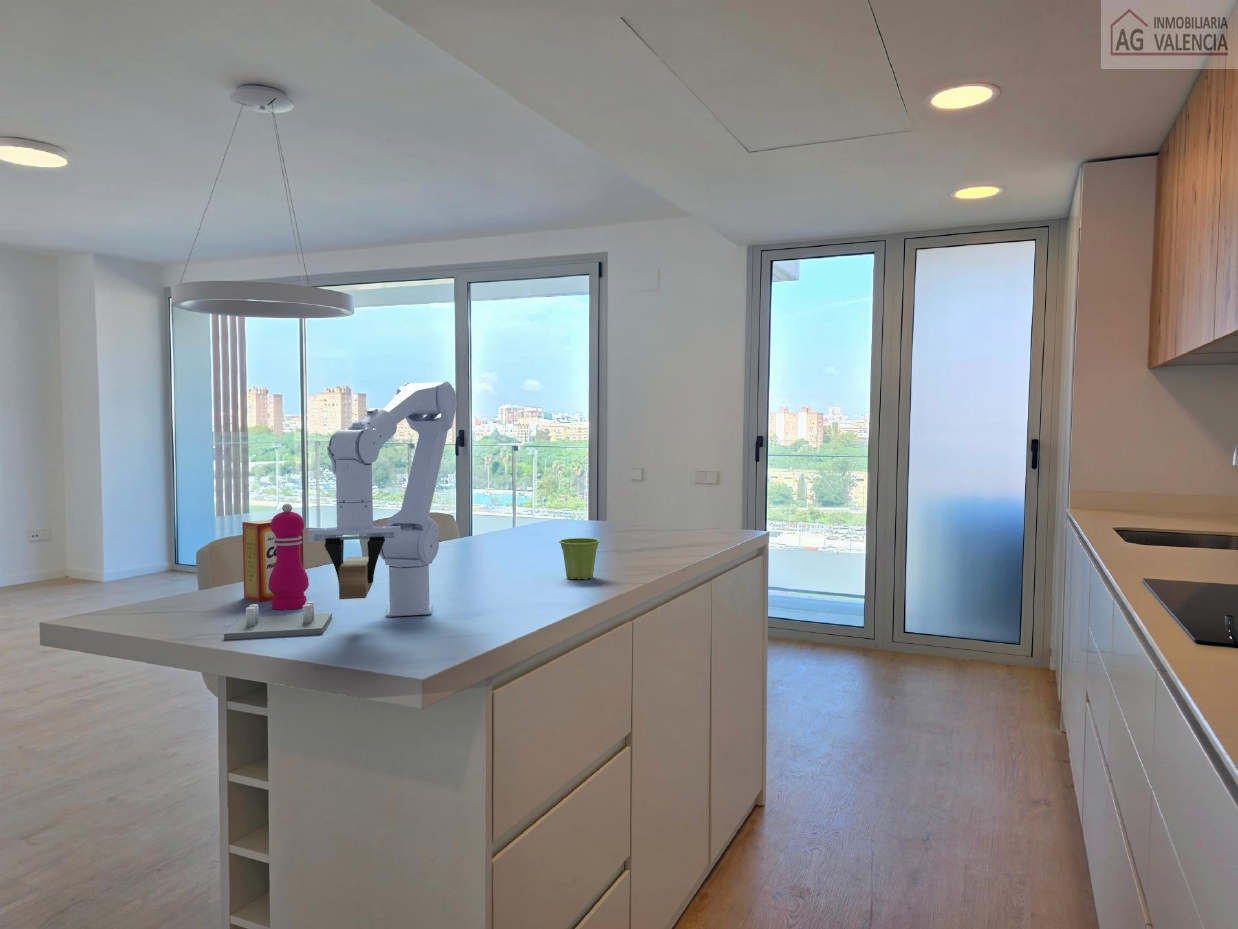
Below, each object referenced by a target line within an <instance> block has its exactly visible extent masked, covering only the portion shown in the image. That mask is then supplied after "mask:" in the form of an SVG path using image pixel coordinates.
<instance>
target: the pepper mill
mask: <svg viewBox="0 0 1238 929" xmlns="http://www.w3.org/2000/svg"><path fill="white" fill-rule="evenodd" d="M281 508H282V511H281V512H278V513H277V514H275V515H274V516H272V518H271V519H272V521H271V530H272V532H273V533H274V534H275V536H276V537H275V538H274V540H275V541H274V542H275V543H274V545H276V549H277V558H276V563H275V566H274V568H273V570H272V573H271V575H270V578H269V585H268V587H269V590H270V591H271V592H272V593H273V594H274V596H275V597H274V598H272V600H271V609H273V610H278V611H279V610H280V611H287V610H297V609H300V608H302V609H303V605H305V603H306V602H308V601H307V596H306V595H305V592H306V591H307V590H308V589H309V588H308V587H309V585H310V583H309V582H310V581H309V577H308V573H307V571H306V569H305V568H304V564H303V565H302V563H301V559H300V553H299V547H300V544H301V543H302V541H301V538H302V537H301V536H300V533H301V532H302V531H303V532H304V529H305V521H304V518H303V517H302V515H301V514H299V513H298V512H295V511H292V510H293V506H292V505H291V504H290V503H285V504H283V505H282V507H281ZM303 593H304V595H303Z"/></svg>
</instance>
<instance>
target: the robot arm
mask: <svg viewBox="0 0 1238 929" xmlns="http://www.w3.org/2000/svg"><path fill="white" fill-rule="evenodd" d="M456 395H457V394H456V391H455V389H454V387H453V386H452V384H451V383H450V381H442V382H421V383H418V382H417V383H412V382H405V383H403V384H402V385H401V386H399V387H398V388H397V389H396V396H395V397H393V398H392V400H390V401H389V403H388V404H387V405H385V407H383V408H377V407H373V408H372V407H370V408H368V409H367V410H366V414H364V416H363V417H361V418H360V419H358V420H355V421H353V422H352V423H351V424H352V425H351V426H349V427H348V428H347V429H339V430H337V431H336V432H335V433H333V434H332V435H331V437H330V438H329V442H328V445H327V446H326V451H327V455H328V457H329V460H330V461H331V464H332V465H331V467H332V468H331V469H332V472H333V474H334V475H335V494H336V495H335V496H336V526H335V527H324V528H323V527H322V528H318V527H317V528H310V529H308V530H307V539H308V540H307V541H308V543H309V542H310V543H311V542H318V541H319V542H320V541H321V542H322V541H325V542H324V547H325V551H327V554H328V555H329V557H330V560H331V562H332V563H333V567H334V569H335V572H336V576H337V580H338V581H337V582H338V583H339V567H340V566H341V565H342V563H343V562H344V543H345V541H350V540H353V541H354V540H368V541H367V555H368V562H369V566H368V583H372V584H373V583H374V577H375V570H376V568H377V567H376V566H377V563H378V559H379V556H380V558H381V559H382V560H383V561H384V564H385V566H388V586H389V589H388V592H389V594H388V595H389V598H388V599H389V605H388V607H387V609H386V610H387V611H386V613H385V616H386V617H405V616H421V615H422V616H423V615H431V614H432V612H433V610H432V609H433V602H432V601H430V564H433V561H435V558H436V557H437V555H438V553H439V546H440V543H439V542H440V541H439V536H440V535H439V534H440V533H439V532H440V527H439V525H438V523H437V522H436V520H434V519H433V518H432V517H431V516H430V512H431V508H432V503H433V499H434V495H435V491H436V490H435V489H436V485H437V482H438V481H437V480H438V477H439V473H440V468H441V463H442V459H443V455H444V450H445V445H446V442H447V437H448V432H449V430H450V429H452V428H453V424H454V419H455V417H456V416H455V415H456V410H457V407H458V400H457V396H456ZM404 420H406V422H407V424H408V426H409V428H410V429H411V430H413V431H414V432H417V433H418V438H417V442H416V447H415V451H414V455H413V458H412V463H411V466H410V467H411V468H410V471H409V475H408V479H407V485H406V487H405V492H404V497H403V500H402V504H401V509H400V510H399V511H398V512H396V513H395V514H393V515H391V516H390V517H389V518H388V519H387V520H386V524H385V525H374V510H373V509H374V504H373V502H374V501H373V497H374V496H373V463H375V462H377V460H378V458H379V455H380V451H381V449H382V447H383V445H384V444H385V443H386V442H387V441H389V440H390V439H391V438H392V437H393V436H394V435H395V434H396V432H397V430H398V424H400V423H401V422H402V421H404ZM351 535H352V536H351Z"/></svg>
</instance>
